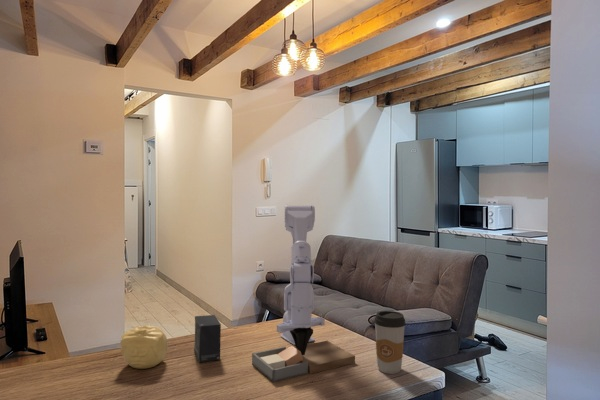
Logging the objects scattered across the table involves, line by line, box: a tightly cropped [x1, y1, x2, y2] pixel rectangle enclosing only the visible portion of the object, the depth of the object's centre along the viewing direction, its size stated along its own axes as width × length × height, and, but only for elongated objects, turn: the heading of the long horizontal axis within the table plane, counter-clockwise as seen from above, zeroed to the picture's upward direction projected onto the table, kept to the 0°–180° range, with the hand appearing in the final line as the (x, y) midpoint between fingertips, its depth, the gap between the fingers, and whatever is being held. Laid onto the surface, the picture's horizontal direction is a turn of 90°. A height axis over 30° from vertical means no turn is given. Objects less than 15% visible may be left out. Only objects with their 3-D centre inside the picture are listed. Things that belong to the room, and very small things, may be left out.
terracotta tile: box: [277, 345, 303, 367], centre depth 114 cm, size 5×5×2 cm
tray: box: [251, 346, 309, 383], centre depth 112 cm, size 13×10×3 cm
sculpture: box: [120, 325, 168, 370], centre depth 115 cm, size 11×12×11 cm
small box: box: [193, 314, 222, 363], centre depth 121 cm, size 11×6×10 cm, turn 22°
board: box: [294, 340, 356, 375], centre depth 119 cm, size 14×15×2 cm
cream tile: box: [260, 354, 285, 369], centre depth 111 cm, size 5×5×2 cm
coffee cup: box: [374, 310, 406, 375], centre depth 113 cm, size 8×8×15 cm
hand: (300, 354), depth 116 cm, fingers closed
